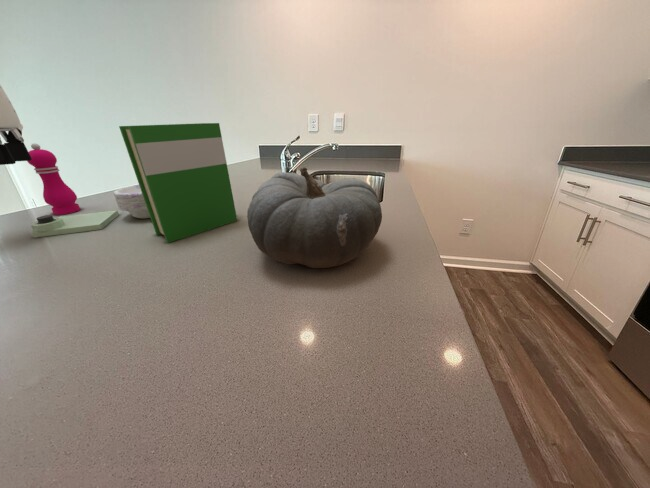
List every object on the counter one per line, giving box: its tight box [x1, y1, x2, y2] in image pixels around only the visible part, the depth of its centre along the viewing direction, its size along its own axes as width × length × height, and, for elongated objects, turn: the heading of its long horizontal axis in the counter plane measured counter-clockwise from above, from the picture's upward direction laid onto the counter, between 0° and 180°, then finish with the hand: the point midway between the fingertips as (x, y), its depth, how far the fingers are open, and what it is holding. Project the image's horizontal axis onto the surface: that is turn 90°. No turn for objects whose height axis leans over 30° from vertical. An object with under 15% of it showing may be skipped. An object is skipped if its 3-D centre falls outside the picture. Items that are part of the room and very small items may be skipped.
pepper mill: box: [26, 143, 81, 216], centre depth 76 cm, size 7×7×20 cm
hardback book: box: [118, 122, 238, 244], centre depth 61 cm, size 18×7×24 cm, turn 139°
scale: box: [30, 209, 120, 238], centre depth 69 cm, size 14×12×3 cm
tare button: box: [36, 214, 55, 224], centre depth 64 cm, size 3×3×2 cm
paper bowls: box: [113, 184, 151, 219], centre depth 75 cm, size 15×15×8 cm
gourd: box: [246, 166, 383, 269], centre depth 50 cm, size 25×25×17 cm
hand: (14, 161), depth 58 cm, fingers open, 4 cm apart
